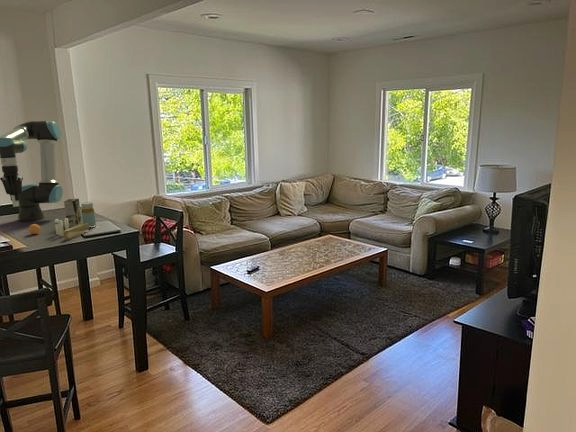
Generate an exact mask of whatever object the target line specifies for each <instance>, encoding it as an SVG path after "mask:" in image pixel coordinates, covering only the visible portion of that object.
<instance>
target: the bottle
mask: <svg viewBox="0 0 576 432" xmlns="http://www.w3.org/2000/svg"><path fill="white" fill-rule="evenodd" d="M93 204H94V203H93V202H91V201H89V202H82V203H81V219H82V223H88V225H89V226H94V225H96V226H97V223H96V222H97V221H96V213H95V210H94V205H93Z"/></svg>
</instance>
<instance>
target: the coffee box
mask: <svg viewBox="0 0 576 432" xmlns="http://www.w3.org/2000/svg"><path fill="white" fill-rule="evenodd" d="M63 206H64V212H65V218H68V223H69V228H72V227H75V226H77V225H80V224H82V223H83V219H82V211H81V206H80V198H70V199H67V200H64V201H63Z"/></svg>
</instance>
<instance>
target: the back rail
mask: <svg viewBox="0 0 576 432" xmlns="http://www.w3.org/2000/svg"><path fill="white" fill-rule="evenodd" d="M88 229H89V230H90V228H89V225H88V223H83V222H82V224H80V225H77V226H75V227H69V229H67V230H66V229H65V230H64V229H63V230H64V236H63V237H64V240H65V241H68V240H69V241H71V240H72V239H75V238H78V237H79V236H82V235H83V234H82V233H83V232H84V231H86V230H88ZM81 234H82V235H81Z"/></svg>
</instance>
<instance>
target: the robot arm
mask: <svg viewBox="0 0 576 432" xmlns="http://www.w3.org/2000/svg"><path fill="white" fill-rule="evenodd" d="M61 136H62V134H61V129H60V126H59V124H58V123H57V122H55V121H53V120H39V121H37V120H33V121H27V122H26V121H25V122H24V123H20V124H18V125H17V126H15V127H13V129H12V130H10V131H8V132H6V133H4V134H1V135H0V164H1V171H2V173H3V176H2V177H0V181H1V183H2V186H3V187H4V191H5V193H6V194H7V195H9V197H10V201H11V202H12V207H13V208H15V207H16V208H17V207H19V210H18V216H17V220H19V222H33V221H34V220H35V221H38V220H42V219H44V218H45V214H44V212H43V210H42V209H41V207H40V206H41V205H40V204H56V203H59V202H60V201H61V200H62V198H63V193H64V190H63V187H62V185H60V184H59V181H57V173H56V172H57V171H56V170H57V169H56V167H57V166H56V144H57V143H58V140H59V139H61ZM27 140H37V141H36V142H37V143H38V144H39V147H40V148H39V151H40V179H41V180H40V181H39V182H38V184H37V183H29V184H23V180H24V178H23V177H21V176H20V175H19V173H18V172H19V166H18V161H17V156H16V154H22V153H25V151H26V150H28V149H27V148H28V146H27V143H26V141H27Z"/></svg>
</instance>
